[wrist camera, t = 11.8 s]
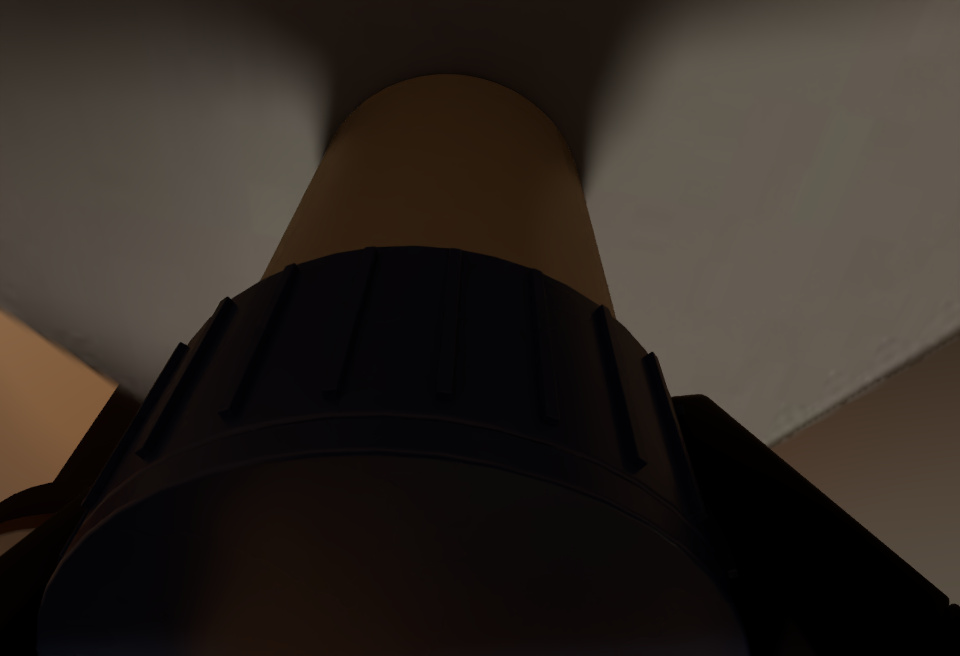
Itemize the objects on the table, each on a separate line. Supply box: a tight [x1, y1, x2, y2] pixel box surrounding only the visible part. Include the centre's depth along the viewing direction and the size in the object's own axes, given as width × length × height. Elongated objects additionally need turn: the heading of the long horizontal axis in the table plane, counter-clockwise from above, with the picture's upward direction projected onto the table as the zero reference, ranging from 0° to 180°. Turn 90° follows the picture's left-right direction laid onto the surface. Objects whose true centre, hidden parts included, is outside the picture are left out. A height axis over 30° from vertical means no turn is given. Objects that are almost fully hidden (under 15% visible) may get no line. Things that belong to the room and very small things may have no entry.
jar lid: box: [36, 245, 752, 656], centre depth 8 cm, size 6×6×3 cm
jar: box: [260, 74, 617, 320], centre depth 11 cm, size 5×5×10 cm
